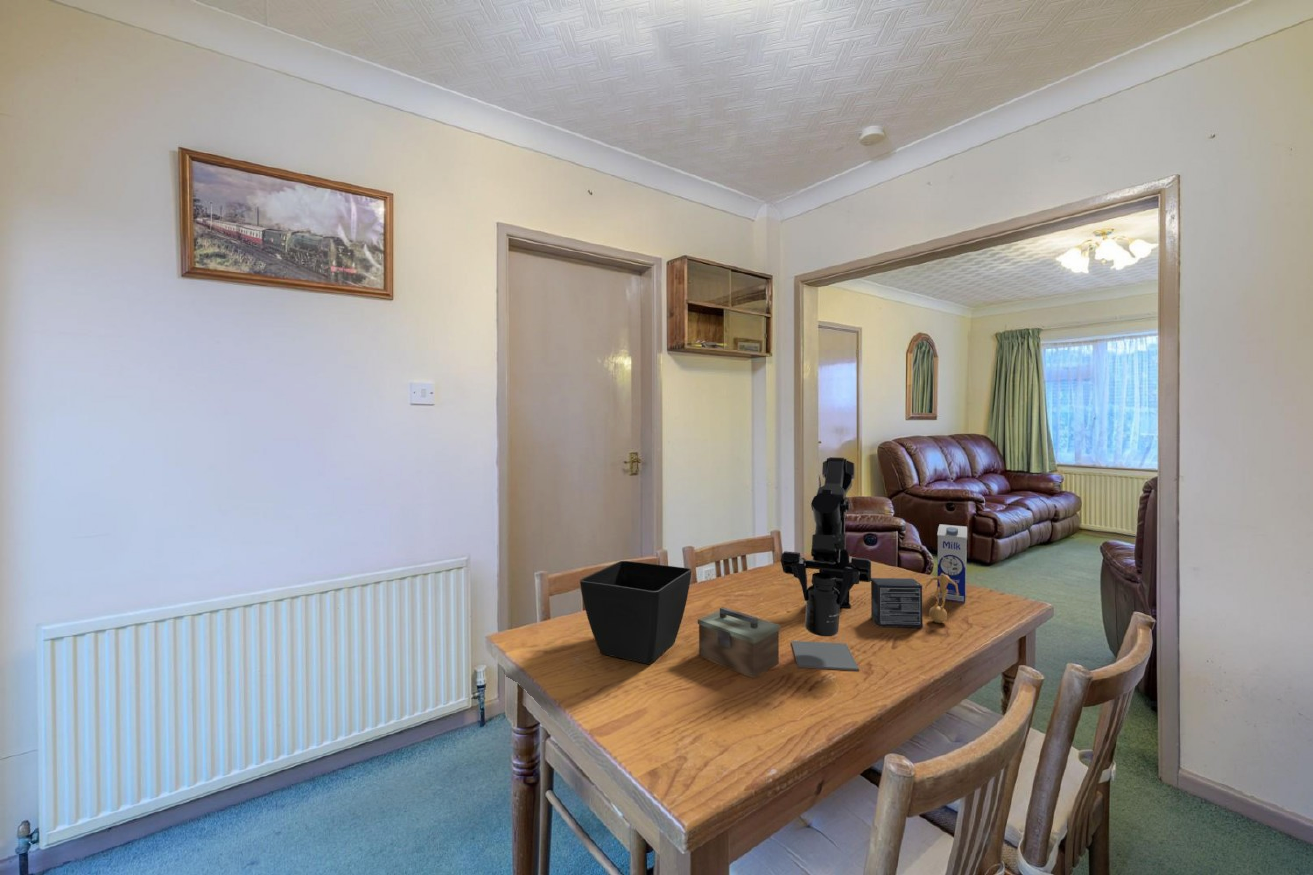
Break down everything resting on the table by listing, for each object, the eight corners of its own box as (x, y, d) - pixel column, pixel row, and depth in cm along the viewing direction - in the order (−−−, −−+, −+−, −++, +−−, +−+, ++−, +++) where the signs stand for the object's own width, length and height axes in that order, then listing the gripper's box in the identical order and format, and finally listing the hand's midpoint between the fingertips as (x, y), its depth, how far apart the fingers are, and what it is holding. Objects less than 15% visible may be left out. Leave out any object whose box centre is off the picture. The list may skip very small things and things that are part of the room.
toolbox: (696, 656, 113) (696, 610, 113) (724, 642, 120) (724, 599, 120) (753, 679, 103) (753, 629, 103) (780, 663, 110) (780, 615, 110)
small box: (913, 618, 134) (913, 577, 133) (923, 628, 127) (924, 585, 127) (870, 617, 135) (870, 576, 134) (878, 627, 128) (878, 584, 128)
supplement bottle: (837, 639, 109) (839, 582, 108) (803, 634, 111) (805, 578, 111) (839, 627, 115) (841, 573, 114) (807, 622, 118) (808, 569, 117)
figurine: (917, 618, 133) (917, 571, 133) (930, 613, 137) (930, 567, 136) (950, 629, 126) (951, 580, 126) (963, 624, 130) (964, 575, 129)
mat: (846, 645, 118) (846, 643, 118) (859, 670, 106) (859, 668, 106) (791, 642, 120) (791, 640, 120) (797, 667, 108) (797, 665, 108)
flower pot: (622, 625, 130) (621, 558, 130) (693, 639, 122) (693, 567, 121) (578, 657, 113) (577, 579, 113) (657, 675, 105) (657, 592, 104)
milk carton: (966, 595, 150) (967, 525, 149) (965, 603, 144) (966, 530, 143) (938, 591, 154) (939, 523, 153) (936, 598, 148) (937, 527, 147)
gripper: (782, 516, 119) (772, 578, 110) (871, 521, 112) (869, 589, 102) (787, 542, 127) (779, 603, 117) (871, 549, 120) (870, 614, 110)
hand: (822, 602), depth 112 cm, fingers closed on supplement bottle, 7 cm apart
